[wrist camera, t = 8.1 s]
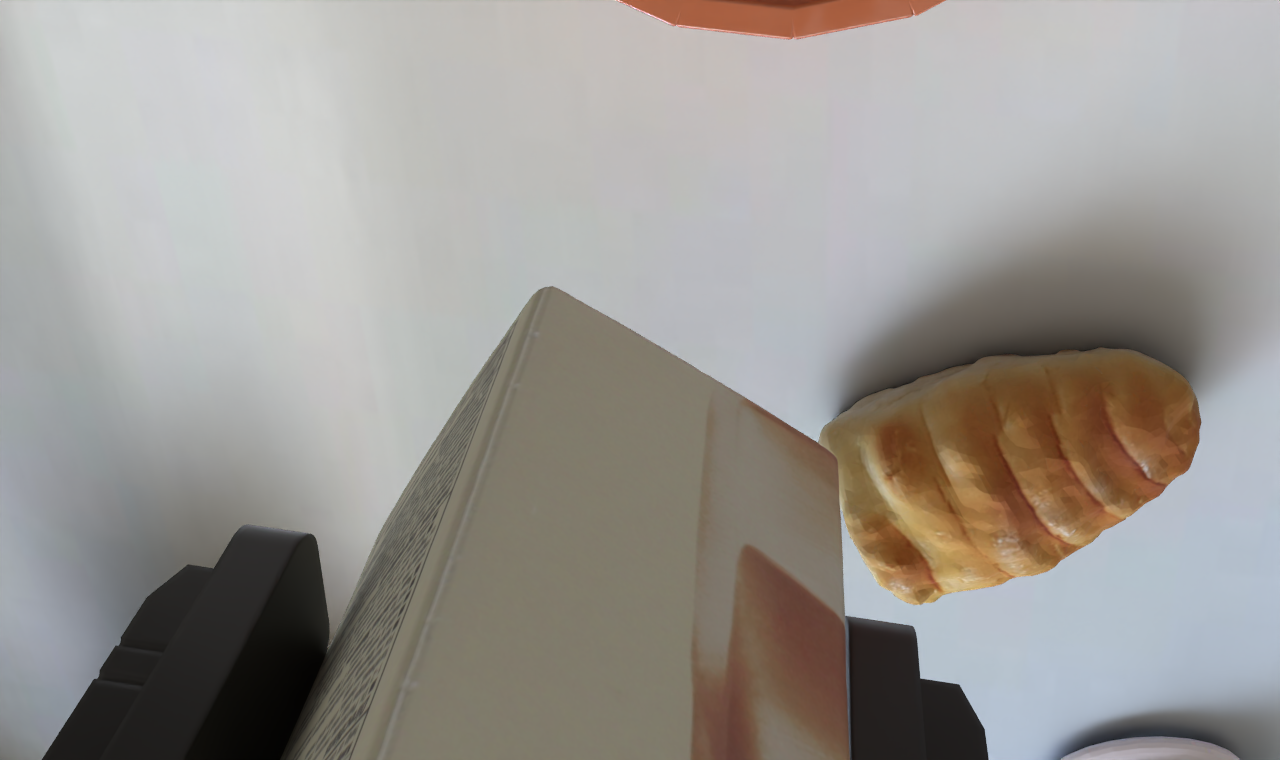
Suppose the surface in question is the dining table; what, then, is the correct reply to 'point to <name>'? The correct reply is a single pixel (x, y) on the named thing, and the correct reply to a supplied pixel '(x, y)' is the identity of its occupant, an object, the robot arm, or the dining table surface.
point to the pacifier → (1152, 750)
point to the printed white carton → (596, 572)
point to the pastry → (1006, 464)
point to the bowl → (779, 14)
